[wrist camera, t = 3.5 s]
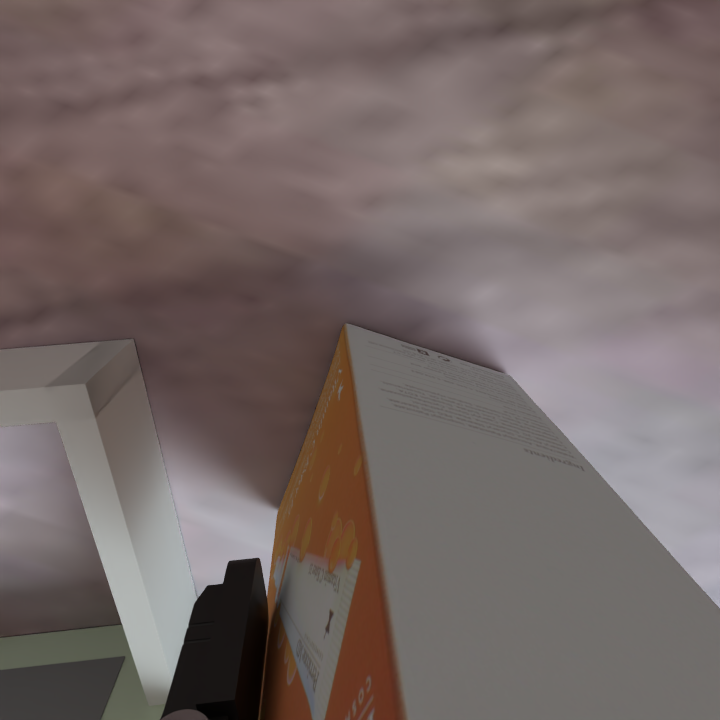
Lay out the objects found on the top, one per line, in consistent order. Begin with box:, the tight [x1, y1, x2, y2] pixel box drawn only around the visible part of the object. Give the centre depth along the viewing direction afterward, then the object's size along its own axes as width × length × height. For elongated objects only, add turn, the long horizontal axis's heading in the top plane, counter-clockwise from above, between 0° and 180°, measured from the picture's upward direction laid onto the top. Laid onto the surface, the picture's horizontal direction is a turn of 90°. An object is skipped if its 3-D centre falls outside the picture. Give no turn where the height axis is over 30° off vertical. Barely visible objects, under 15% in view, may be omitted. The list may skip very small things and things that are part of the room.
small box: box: [258, 323, 720, 720], centre depth 12 cm, size 8×6×13 cm
